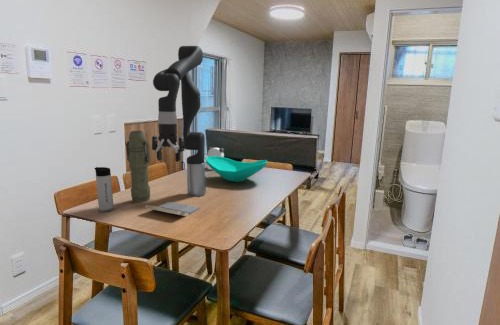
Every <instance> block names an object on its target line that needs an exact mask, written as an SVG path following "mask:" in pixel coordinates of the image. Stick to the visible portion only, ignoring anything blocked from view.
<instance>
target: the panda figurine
mask: <svg viewBox="0 0 500 325" xmlns="http://www.w3.org/2000/svg"><path fill="white" fill-rule="evenodd" d="M207 151H208V152H207V157H210V156H219V157H224V158H225V153H224V151H225V148H224V147H221V148H219V147H213V146H210V147H209V146H208V147H207ZM207 170H211V171H214V170H213V169H212V168H211V167H210V166H208V167H207Z"/></svg>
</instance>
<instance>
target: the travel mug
mask: <svg viewBox="0 0 500 325" xmlns="http://www.w3.org/2000/svg"><path fill="white" fill-rule="evenodd" d="M94 170H95V180H96V181H95V182H96V192H97V193H96V194H97V202H98V211H99V212H101V213H107V212H111V211H113V210H114V207H115V206H114V195H113V185H112V184H113V182H112V175H111V174H112V173H111V168H110V167H105V166H103V167H102V166H100V167H99V166H96V167H94Z"/></svg>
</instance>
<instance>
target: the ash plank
mask: <svg viewBox="0 0 500 325" xmlns="http://www.w3.org/2000/svg"><path fill="white" fill-rule="evenodd" d="M144 209H147V210H148V209H149V210H154V211H158V212H163V213H167V214H174V215H178V216H183V217H188V216H189V215H190V214H189V213H186V212H181V211H176V210H171V209H166V208H161V207H158V206H155V205H149V204H145V206H144Z"/></svg>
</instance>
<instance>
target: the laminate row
mask: <svg viewBox="0 0 500 325" xmlns="http://www.w3.org/2000/svg"><path fill="white" fill-rule="evenodd" d="M157 207H161V208H166V209H171V210H176V211H181V212H186V213H189V215H191V214H193V213H195V212H197V211H199V210H200V209H201V207H200V206H194V205H187V204H184V203H183V204H182V203H178V202H172V201H167V202H164V203H163V204H160V205H158V206H157Z"/></svg>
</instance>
